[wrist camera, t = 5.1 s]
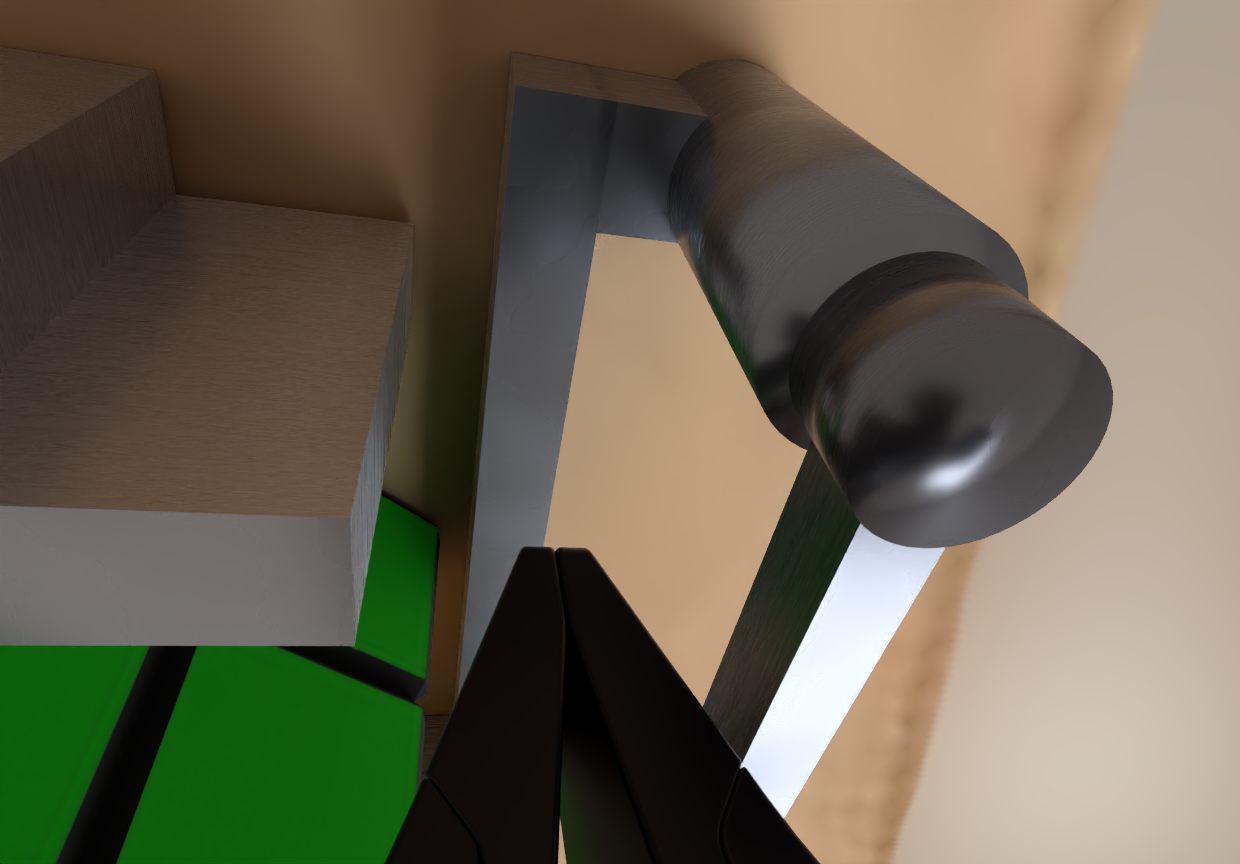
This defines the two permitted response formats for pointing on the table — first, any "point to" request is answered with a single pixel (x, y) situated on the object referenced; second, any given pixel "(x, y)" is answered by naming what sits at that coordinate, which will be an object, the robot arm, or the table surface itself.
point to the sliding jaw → (180, 384)
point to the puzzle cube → (226, 736)
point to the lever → (895, 485)
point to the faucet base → (674, 212)
